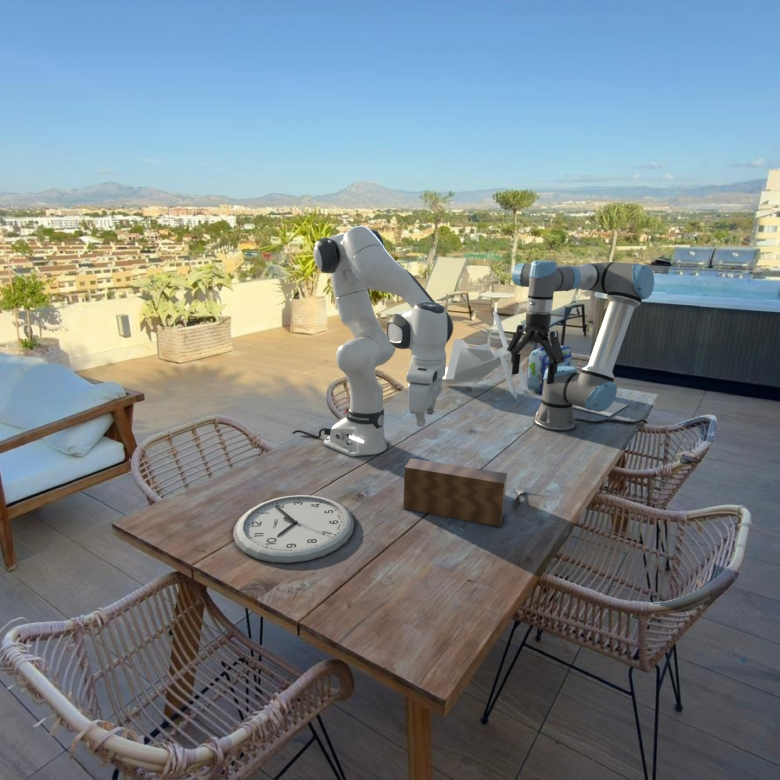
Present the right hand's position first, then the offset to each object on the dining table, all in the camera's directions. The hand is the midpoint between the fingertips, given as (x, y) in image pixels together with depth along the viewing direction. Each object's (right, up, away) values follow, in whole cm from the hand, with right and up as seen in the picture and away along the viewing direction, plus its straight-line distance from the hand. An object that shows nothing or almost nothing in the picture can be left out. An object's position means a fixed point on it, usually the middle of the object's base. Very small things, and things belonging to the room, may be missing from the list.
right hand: (532, 378), depth 167 cm
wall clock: (-70, -38, -35) cm, 87 cm away
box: (-29, -36, -27) cm, 54 cm away
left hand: (-36, -11, -32) cm, 50 cm away
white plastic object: (-4, -5, +76) cm, 76 cm away
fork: (-9, -35, -20) cm, 41 cm away
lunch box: (+30, -3, +83) cm, 88 cm away
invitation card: (+46, -11, +59) cm, 76 cm away
